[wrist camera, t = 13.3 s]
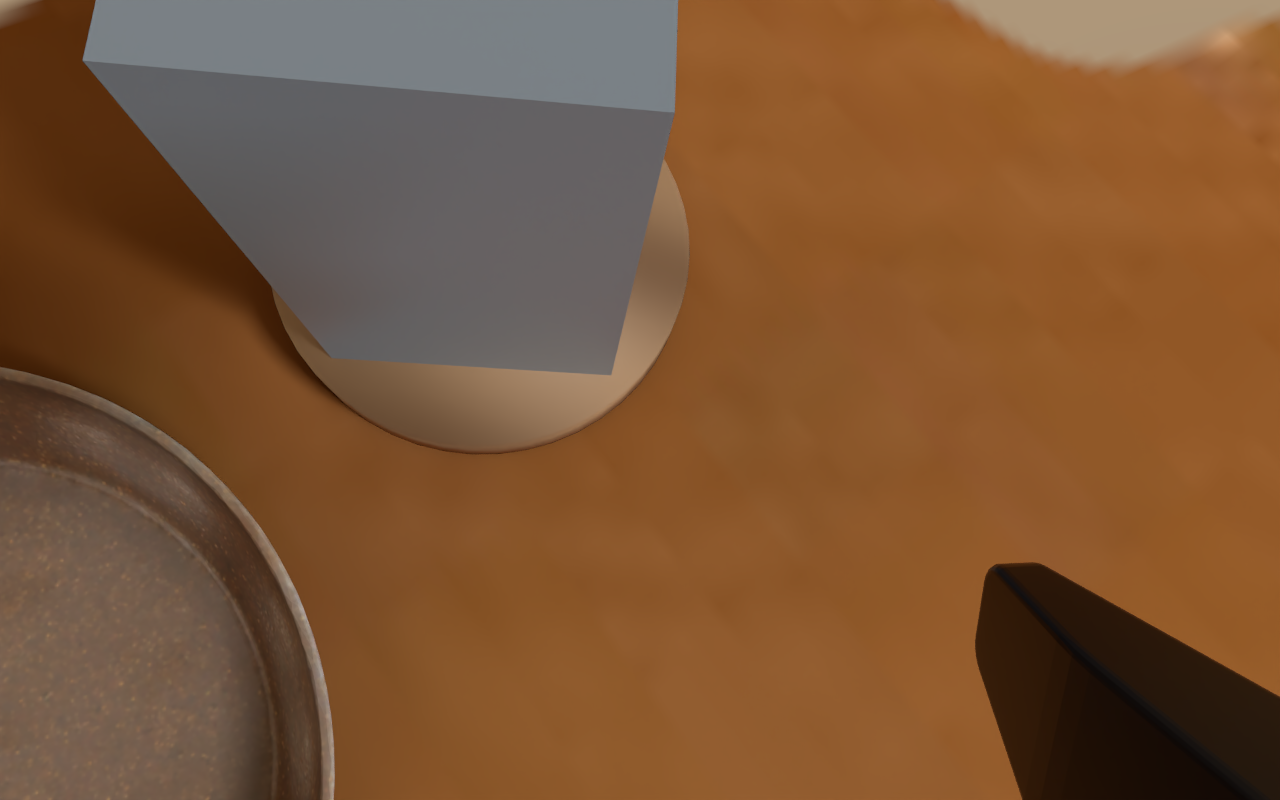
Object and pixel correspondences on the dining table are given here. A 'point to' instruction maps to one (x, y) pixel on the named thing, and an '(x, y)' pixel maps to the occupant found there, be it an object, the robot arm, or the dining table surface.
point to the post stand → (508, 398)
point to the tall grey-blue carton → (416, 160)
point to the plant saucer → (143, 619)
